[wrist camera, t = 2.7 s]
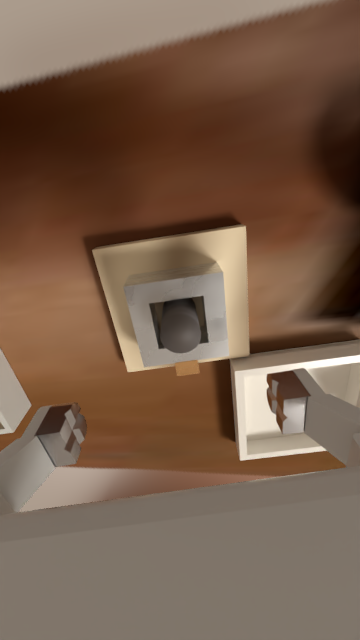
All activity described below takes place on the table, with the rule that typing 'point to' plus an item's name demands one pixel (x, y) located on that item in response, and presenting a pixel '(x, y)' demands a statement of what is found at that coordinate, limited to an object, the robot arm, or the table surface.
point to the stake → (182, 314)
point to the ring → (172, 287)
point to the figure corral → (10, 398)
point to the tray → (251, 386)
